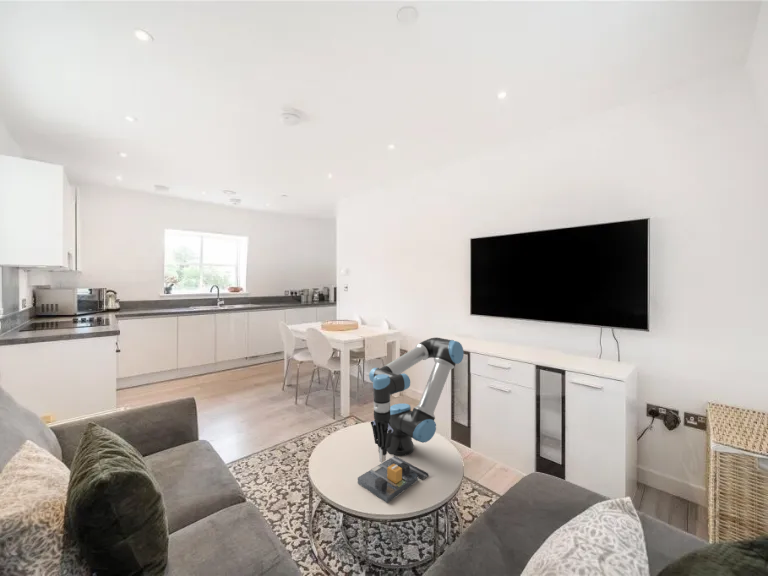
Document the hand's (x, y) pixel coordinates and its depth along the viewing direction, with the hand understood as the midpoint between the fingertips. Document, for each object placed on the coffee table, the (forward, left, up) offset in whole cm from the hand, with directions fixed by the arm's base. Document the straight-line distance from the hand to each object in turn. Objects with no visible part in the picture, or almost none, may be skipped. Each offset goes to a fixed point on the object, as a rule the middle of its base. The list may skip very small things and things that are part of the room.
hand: (382, 460), depth 144 cm
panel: (+1, +4, -8) cm, 9 cm away
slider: (+1, +8, -5) cm, 9 cm away
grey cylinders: (-13, +4, -8) cm, 16 cm away
